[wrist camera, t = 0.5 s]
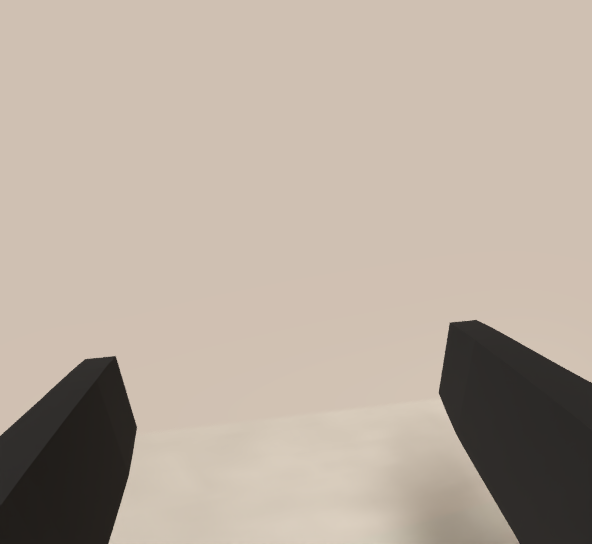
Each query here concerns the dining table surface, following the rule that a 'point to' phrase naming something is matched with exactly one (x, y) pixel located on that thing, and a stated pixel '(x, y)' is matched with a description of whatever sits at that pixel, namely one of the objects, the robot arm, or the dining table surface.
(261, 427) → the dining table surface
